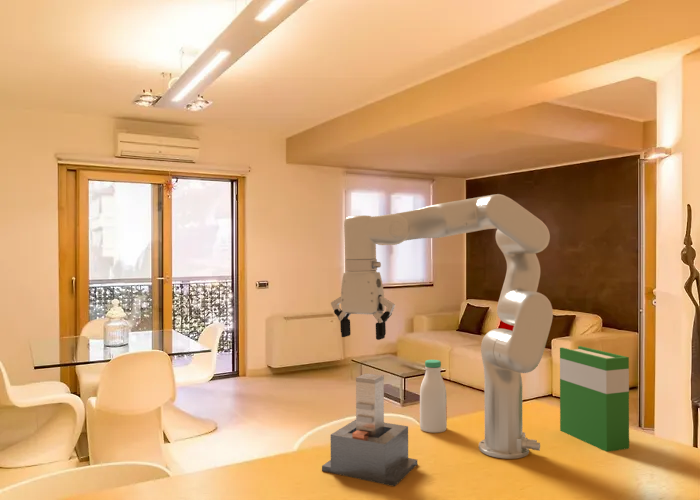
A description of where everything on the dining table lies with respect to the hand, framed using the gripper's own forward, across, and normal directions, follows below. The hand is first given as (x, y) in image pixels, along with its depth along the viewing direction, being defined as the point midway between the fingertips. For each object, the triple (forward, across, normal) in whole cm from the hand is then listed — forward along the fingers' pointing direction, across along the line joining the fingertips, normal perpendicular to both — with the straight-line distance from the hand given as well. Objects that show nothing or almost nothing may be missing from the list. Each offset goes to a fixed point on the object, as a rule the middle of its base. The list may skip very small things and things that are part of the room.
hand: (362, 337), depth 134 cm
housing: (+31, -1, 0) cm, 31 cm away
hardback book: (+33, -44, -49) cm, 74 cm away
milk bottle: (+32, -3, -34) cm, 47 cm away
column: (+31, -1, 0) cm, 31 cm away
